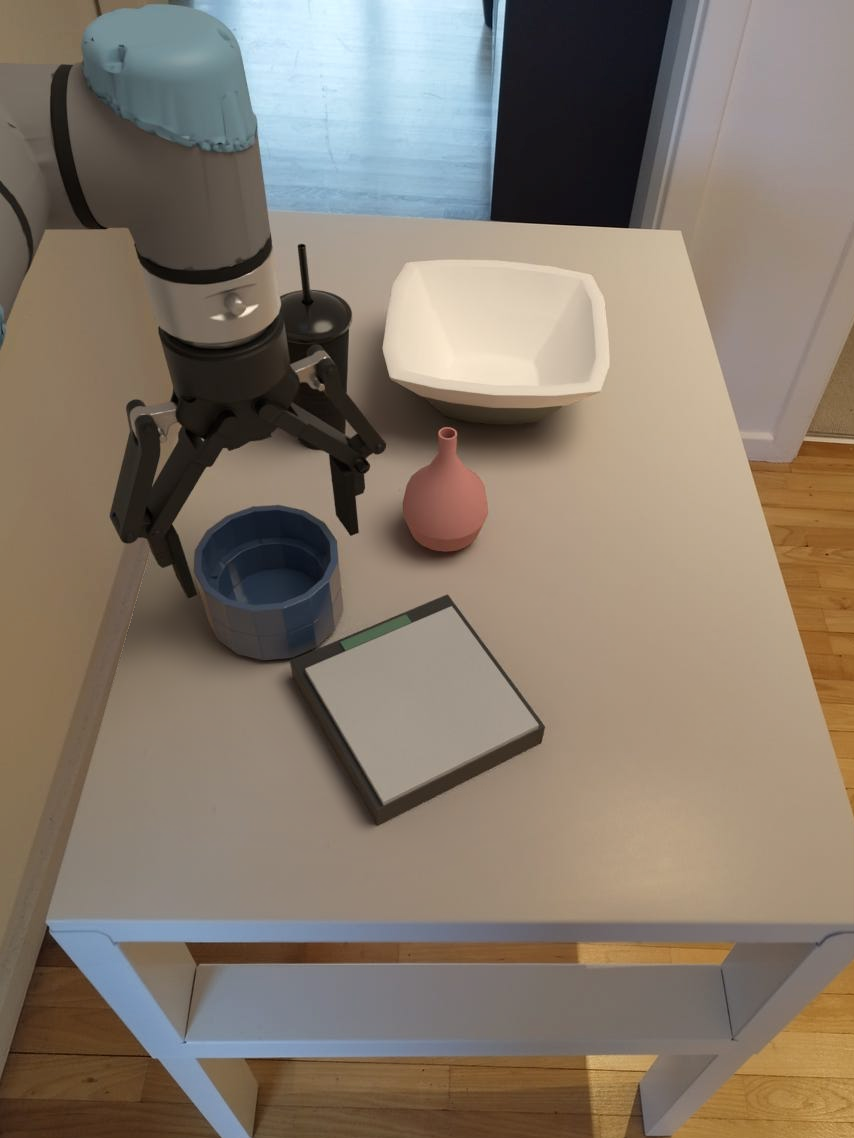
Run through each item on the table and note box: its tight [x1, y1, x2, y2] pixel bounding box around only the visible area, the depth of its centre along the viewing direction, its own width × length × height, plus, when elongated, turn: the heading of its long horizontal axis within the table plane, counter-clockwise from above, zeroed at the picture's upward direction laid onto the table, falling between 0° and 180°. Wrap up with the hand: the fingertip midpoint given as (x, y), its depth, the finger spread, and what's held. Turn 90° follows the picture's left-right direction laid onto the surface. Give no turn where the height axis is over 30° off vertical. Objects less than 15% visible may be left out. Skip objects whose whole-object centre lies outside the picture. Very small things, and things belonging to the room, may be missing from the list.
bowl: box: [382, 258, 611, 425], centre depth 94 cm, size 22×23×8 cm
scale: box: [289, 594, 546, 826], centre depth 71 cm, size 15×14×3 cm
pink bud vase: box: [402, 426, 489, 553], centre depth 79 cm, size 8×8×12 cm
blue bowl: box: [193, 504, 344, 661], centre depth 75 cm, size 11×11×7 cm
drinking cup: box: [280, 243, 353, 450], centre depth 84 cm, size 8×8×20 cm
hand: (269, 553), depth 72 cm, fingers open, 13 cm apart
